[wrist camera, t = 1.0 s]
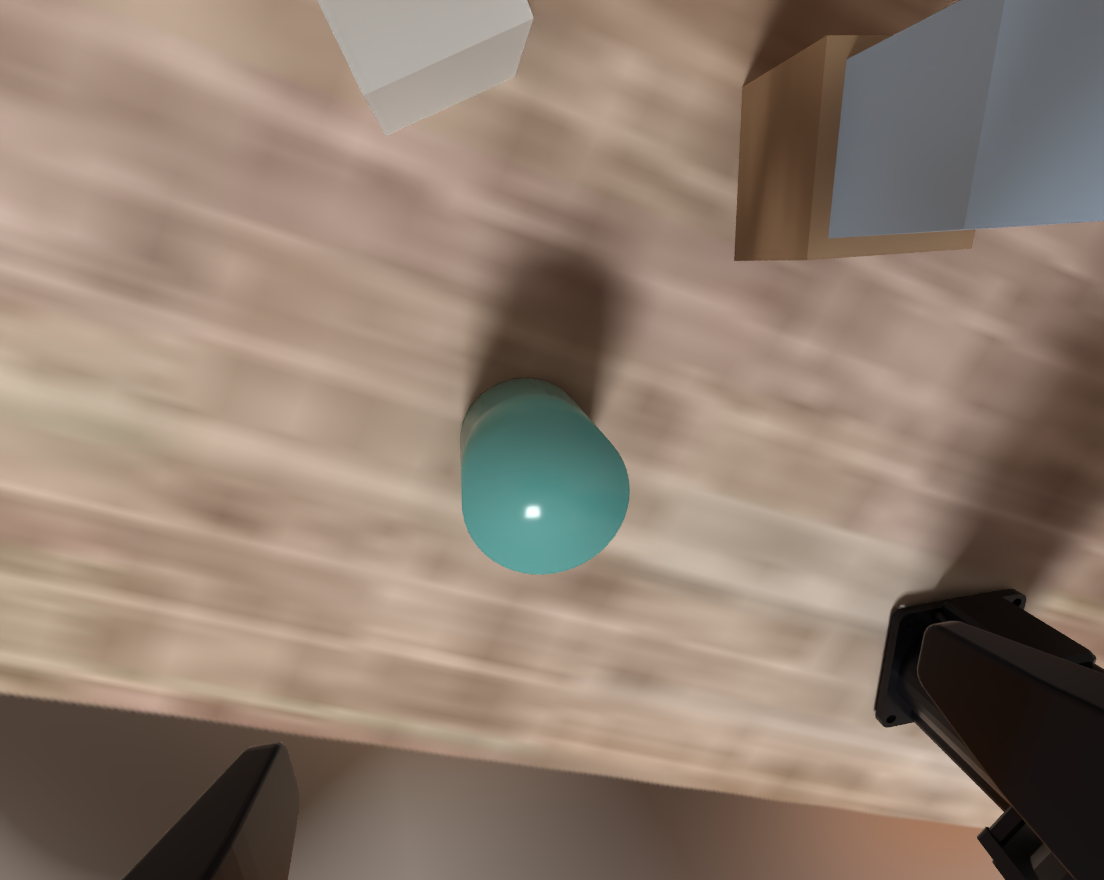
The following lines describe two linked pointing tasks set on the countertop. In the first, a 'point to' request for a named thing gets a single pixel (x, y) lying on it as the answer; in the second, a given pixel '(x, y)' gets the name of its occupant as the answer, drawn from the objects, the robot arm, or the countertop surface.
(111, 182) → the countertop surface
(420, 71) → the cube
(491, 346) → the countertop surface
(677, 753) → the countertop surface
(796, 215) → the tower base
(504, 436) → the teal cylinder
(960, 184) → the tower top
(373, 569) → the countertop surface
